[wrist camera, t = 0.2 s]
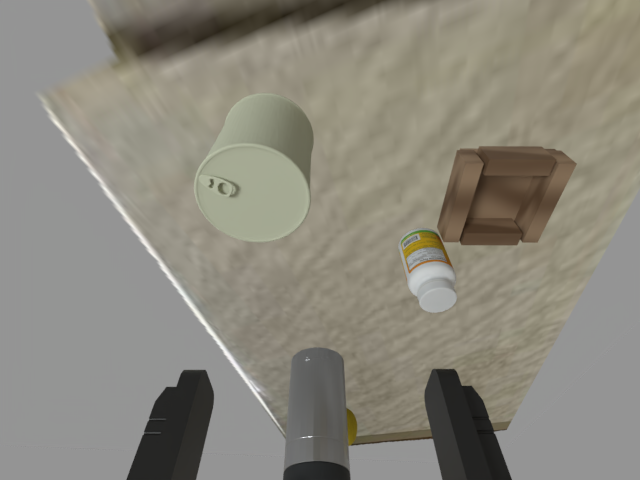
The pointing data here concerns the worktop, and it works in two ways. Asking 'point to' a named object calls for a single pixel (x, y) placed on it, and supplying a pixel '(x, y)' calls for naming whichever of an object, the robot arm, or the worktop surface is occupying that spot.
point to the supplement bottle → (428, 269)
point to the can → (258, 170)
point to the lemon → (351, 426)
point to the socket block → (502, 194)
